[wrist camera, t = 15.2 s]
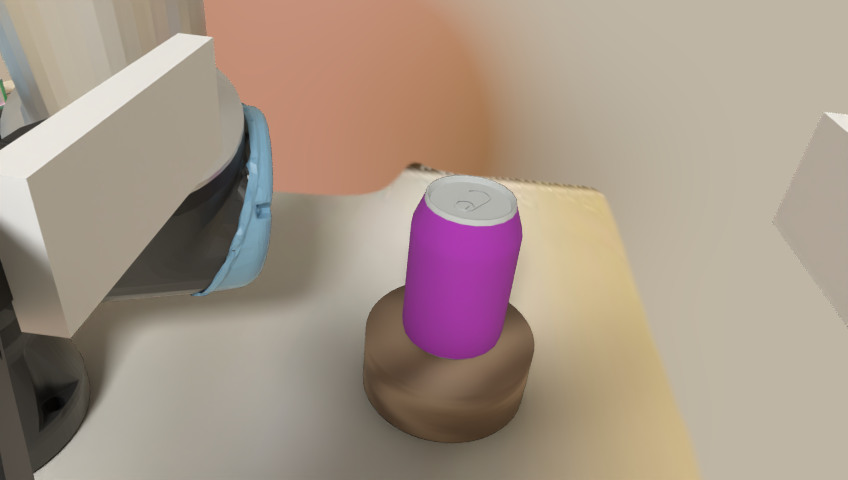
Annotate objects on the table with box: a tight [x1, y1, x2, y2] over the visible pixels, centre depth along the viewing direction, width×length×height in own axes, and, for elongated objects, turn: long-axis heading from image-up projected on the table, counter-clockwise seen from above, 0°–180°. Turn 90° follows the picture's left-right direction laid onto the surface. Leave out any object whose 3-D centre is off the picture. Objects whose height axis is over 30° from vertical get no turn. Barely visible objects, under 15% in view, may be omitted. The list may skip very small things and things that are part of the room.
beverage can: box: [402, 175, 522, 360], centre depth 46 cm, size 8×8×12 cm
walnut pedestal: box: [363, 286, 534, 443], centre depth 51 cm, size 13×13×5 cm
